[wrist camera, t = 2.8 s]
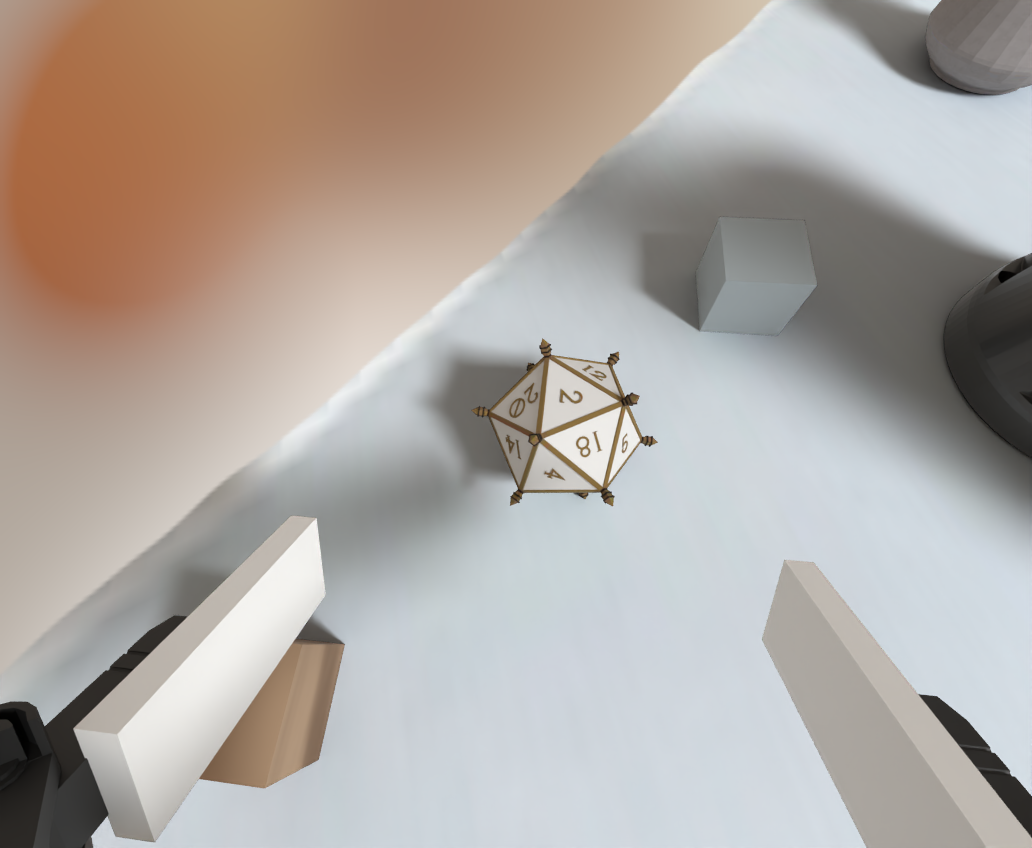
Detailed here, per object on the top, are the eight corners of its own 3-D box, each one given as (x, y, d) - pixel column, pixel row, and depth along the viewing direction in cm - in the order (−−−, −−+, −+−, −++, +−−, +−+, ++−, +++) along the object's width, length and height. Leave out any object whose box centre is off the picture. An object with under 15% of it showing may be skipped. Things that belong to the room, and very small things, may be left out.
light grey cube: (768, 277, 34) (804, 220, 29) (777, 336, 32) (817, 285, 27) (695, 273, 34) (719, 216, 29) (699, 332, 32) (726, 280, 27)
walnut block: (345, 644, 25) (302, 644, 20) (319, 759, 23) (264, 788, 18) (253, 633, 25) (191, 631, 21) (219, 745, 23) (142, 770, 19)
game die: (553, 502, 31) (483, 560, 22) (504, 382, 32) (414, 390, 22) (689, 456, 28) (671, 502, 18) (631, 320, 28) (586, 300, 19)
